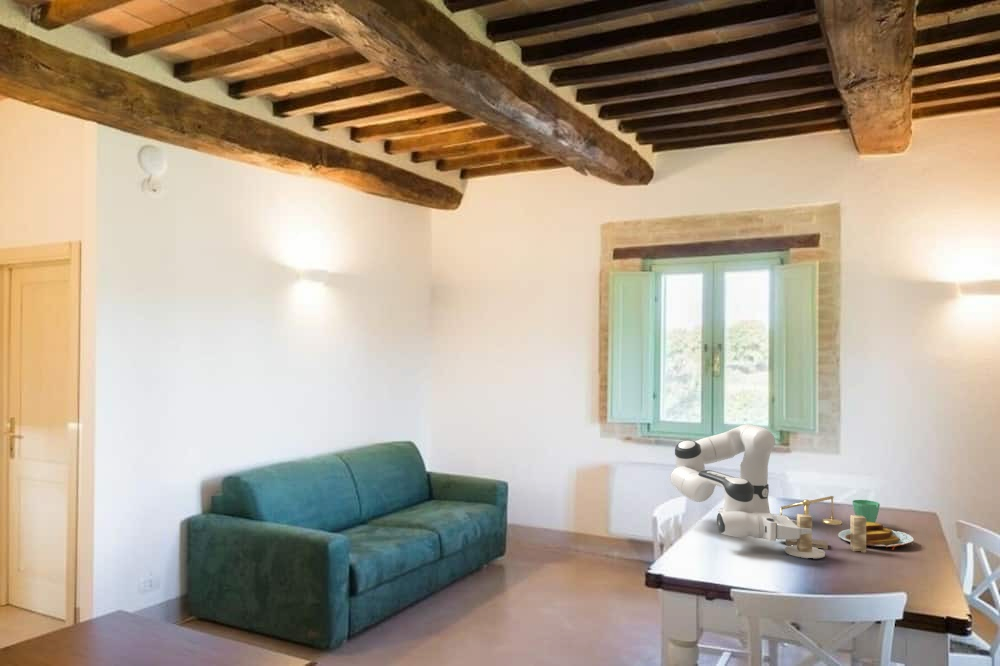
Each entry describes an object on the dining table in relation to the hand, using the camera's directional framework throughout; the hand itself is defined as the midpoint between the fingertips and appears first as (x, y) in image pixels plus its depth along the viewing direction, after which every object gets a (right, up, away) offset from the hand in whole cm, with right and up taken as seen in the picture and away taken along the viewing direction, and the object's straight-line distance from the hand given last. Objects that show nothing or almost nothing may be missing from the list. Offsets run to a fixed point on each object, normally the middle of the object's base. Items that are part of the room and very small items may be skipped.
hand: (807, 527), depth 248 cm
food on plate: (+34, -11, +19) cm, 40 cm away
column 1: (-1, -8, 0) cm, 8 cm away
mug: (+43, -11, +44) cm, 62 cm away
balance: (+5, -10, +13) cm, 17 cm away
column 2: (+21, -10, +6) cm, 24 cm away
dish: (-1, -9, 0) cm, 10 cm away
